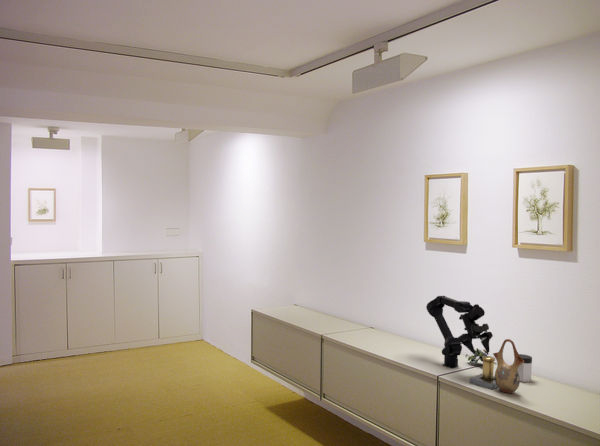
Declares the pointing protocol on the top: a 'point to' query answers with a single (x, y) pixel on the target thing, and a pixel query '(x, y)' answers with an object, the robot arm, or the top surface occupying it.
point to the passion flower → (477, 353)
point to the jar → (525, 368)
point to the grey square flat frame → (483, 382)
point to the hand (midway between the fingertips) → (481, 353)
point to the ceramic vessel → (507, 370)
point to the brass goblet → (488, 368)
